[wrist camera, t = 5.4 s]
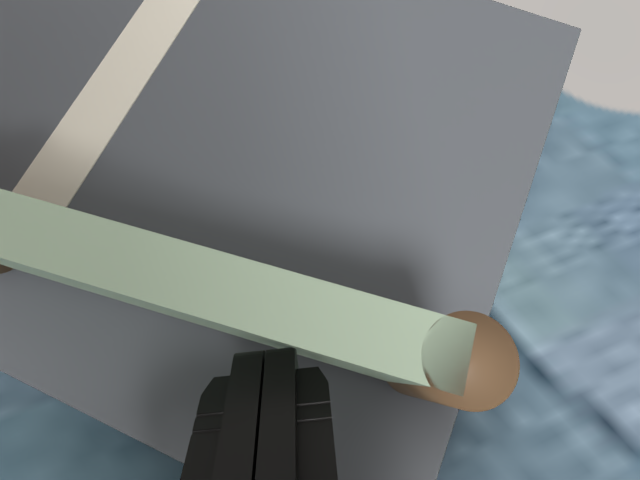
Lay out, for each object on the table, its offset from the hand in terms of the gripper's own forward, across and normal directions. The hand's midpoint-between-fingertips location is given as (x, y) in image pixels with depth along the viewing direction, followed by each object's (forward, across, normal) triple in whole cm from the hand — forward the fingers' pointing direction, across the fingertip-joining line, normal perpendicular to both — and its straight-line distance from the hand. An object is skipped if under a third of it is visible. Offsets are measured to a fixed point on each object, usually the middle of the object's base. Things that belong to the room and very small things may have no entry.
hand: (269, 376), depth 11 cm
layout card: (+12, +6, -5) cm, 14 cm away
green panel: (+5, +3, +1) cm, 6 cm away
